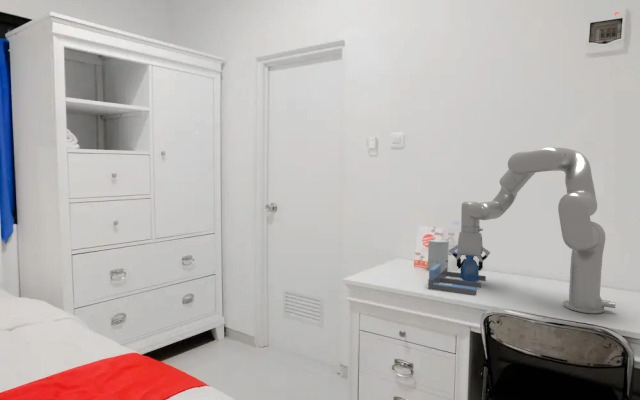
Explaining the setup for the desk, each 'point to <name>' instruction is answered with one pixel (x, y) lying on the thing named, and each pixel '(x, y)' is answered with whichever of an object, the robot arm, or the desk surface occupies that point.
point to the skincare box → (438, 253)
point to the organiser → (451, 281)
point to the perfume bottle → (469, 269)
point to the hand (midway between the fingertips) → (469, 268)
